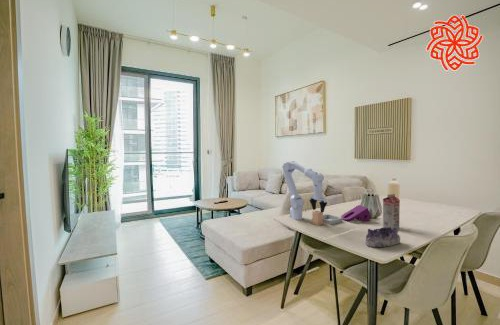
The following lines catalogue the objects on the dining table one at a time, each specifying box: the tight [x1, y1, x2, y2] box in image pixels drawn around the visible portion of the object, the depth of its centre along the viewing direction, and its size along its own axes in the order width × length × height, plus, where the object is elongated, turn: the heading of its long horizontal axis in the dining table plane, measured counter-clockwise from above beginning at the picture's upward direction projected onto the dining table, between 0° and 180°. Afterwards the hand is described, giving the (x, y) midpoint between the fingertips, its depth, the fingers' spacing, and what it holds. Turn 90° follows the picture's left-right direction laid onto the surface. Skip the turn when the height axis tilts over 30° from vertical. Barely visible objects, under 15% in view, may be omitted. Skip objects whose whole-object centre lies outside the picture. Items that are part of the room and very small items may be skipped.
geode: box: [365, 226, 401, 249], centre depth 129 cm, size 20×12×10 cm, turn 113°
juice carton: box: [382, 193, 401, 230], centre depth 154 cm, size 7×7×22 cm
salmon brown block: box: [311, 210, 324, 225], centre depth 163 cm, size 5×5×8 cm
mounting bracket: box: [340, 204, 372, 223], centre depth 171 cm, size 10×9×19 cm
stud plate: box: [309, 221, 327, 227], centre depth 163 cm, size 9×9×4 cm
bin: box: [323, 213, 343, 226], centre depth 168 cm, size 13×12×4 cm
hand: (318, 210), depth 162 cm, fingers open, 7 cm apart
